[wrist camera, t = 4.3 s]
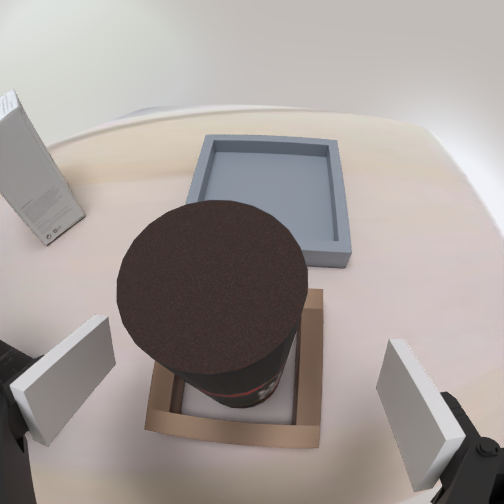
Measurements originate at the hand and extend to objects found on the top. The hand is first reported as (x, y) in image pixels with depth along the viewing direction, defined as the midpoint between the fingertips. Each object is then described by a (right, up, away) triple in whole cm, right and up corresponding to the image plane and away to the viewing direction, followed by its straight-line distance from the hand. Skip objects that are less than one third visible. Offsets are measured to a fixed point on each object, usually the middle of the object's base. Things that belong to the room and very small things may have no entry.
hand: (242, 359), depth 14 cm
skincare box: (-22, +9, +18) cm, 30 cm away
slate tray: (+2, +10, +17) cm, 20 cm away
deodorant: (0, -4, +9) cm, 10 cm away
